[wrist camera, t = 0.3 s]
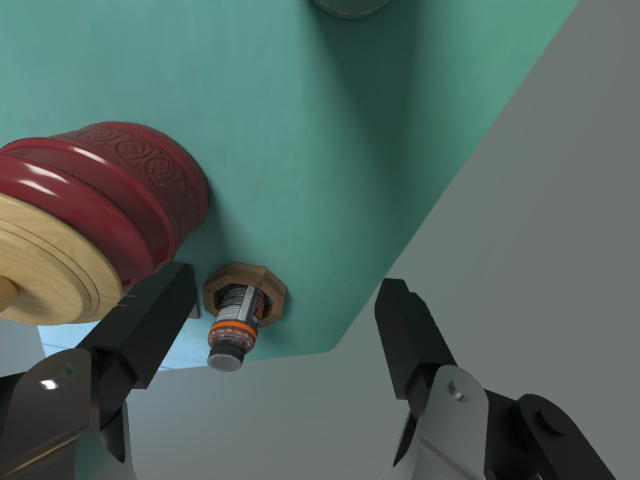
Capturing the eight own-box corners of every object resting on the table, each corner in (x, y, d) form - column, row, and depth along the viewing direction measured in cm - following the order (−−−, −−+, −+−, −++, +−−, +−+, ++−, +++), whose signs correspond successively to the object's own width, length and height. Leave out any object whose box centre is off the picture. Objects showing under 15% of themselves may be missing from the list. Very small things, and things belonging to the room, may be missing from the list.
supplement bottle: (269, 303, 38) (253, 376, 29) (233, 303, 38) (206, 376, 29) (264, 278, 35) (244, 351, 25) (224, 278, 35) (190, 351, 25)
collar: (207, 258, 32) (199, 270, 30) (289, 270, 34) (287, 283, 32) (212, 309, 39) (206, 322, 37) (280, 318, 40) (278, 331, 38)
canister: (235, 209, 28) (146, 352, 13) (154, 244, 31) (10, 390, 16) (150, 93, 21) (-220, 130, 7) (56, 151, 24) (-343, 266, 9)
